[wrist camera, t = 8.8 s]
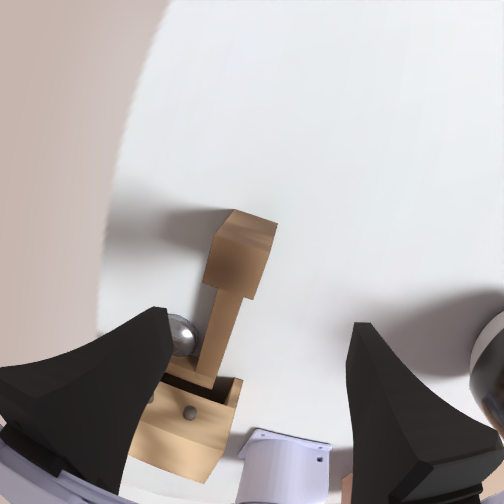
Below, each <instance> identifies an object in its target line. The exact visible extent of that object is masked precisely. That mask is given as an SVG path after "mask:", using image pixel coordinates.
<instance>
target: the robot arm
mask: <svg viewBox="0 0 504 504" xmlns="http://www.w3.org/2000/svg"><path fill="white" fill-rule="evenodd" d="M173 350H174V343H173V338H172V333H171V328H170V323H169V318H168V313H167V308H161V307H154V306H153V307H151V308H149V309H147V310H146V311H144V312H142V313H140V314H139V315H137V316H135V317H134V318H132V319H131V320H129V321H127V322H126V323H124V324H122V325H121V326H119V327H117V328H116V329H114V330H112V331H111V332H109V333H107V334H105V335H103V336H101V337H100V338H98V339H96V340H94V341H92V342H90V343H88V344H86V345H84V346H82V347H79V348H77V349H75V350H72V351H70V352H67V353H64V354H61V355H58V356H56V357H52V358H49V359H45V360H42V361H38V362H33V363H28V364H23V365H16V366H7V367H1V368H0V415H1V416H2V417H3V418H4V420H5V421H6V422H7V424H6V425H5V426H4V427H3V426H2V425H1V424H0V494H1V495H2V496H3V497H4V498H5V499H6V500H7V501H9V502H10V503H11V504H138V503H135V502H133V501H130V500H127V499H125V498H122V497H119V496H118V494H119V488H120V483H121V479H122V474H123V470H124V466H125V463H126V459H127V456H128V452H129V449H130V446H131V443H132V440H133V437H134V434H135V431H136V429H137V426H138V424H139V421H140V418H141V416H142V414H143V412H144V410H145V408H146V406H147V404H148V402H149V400H150V398H151V397H152V395H153V393H154V391H155V389H156V387H157V386H158V384H159V382H160V380H161V378H162V376H163V374H164V373H165V371H166V369H167V367H168V364H169V361H170V359H171V356H172V353H173ZM346 387H347V394H348V401H349V408H350V415H351V423H352V431H353V480H352V493H351V504H504V491H502V492H499V493H497V494H494V495H492V496H489V497H487V498H485V499H484V500H482V501H480V499H479V494H481V493H482V491H483V487H482V483H481V482H482V481H484V479H486V478H487V477H488V476H489V475H490V474H491V473H492V472H493V471H495V470H496V469H497V467H498V466H499V465H500V464H501V463H502V461H503V460H504V446H503V444H502V441H501V438H500V435H499V433H498V431H497V430H495V429H493V428H491V427H489V426H486V425H484V424H482V423H480V422H478V421H476V420H474V419H472V418H470V417H469V416H467V415H465V414H464V413H462V412H460V411H459V410H457V409H455V408H454V407H452V406H451V405H450V404H448V403H447V402H445V401H444V400H443V399H441V398H440V397H439V396H437V395H436V394H435V393H434V392H432V391H431V390H430V389H429V388H428V387H427V386H425V385H424V384H423V383H422V382H421V381H420V380H419V379H418V378H417V377H416V376H415V375H414V374H413V373H412V372H411V371H410V370H409V369H408V368H407V367H406V366H405V365H404V364H403V363H402V362H401V360H400V359H399V358H398V357H397V356H396V354H395V353H394V352H393V351H392V350H391V348H390V347H389V346H388V345H387V343H386V342H385V341H384V340H383V338H382V337H381V336H380V334H379V333H378V332H377V331H376V329H375V328H374V327H373V325H372V324H371V323H363V322H355V323H354V327H353V332H352V337H351V342H350V346H349V351H348V355H347V359H346ZM331 450H332V445H329V444H323V443H318V442H312V441H307V440H302V439H298V438H293V437H289V436H284V435H280V434H276V433H272V432H268V431H264V430H261V429H256V430H255V431H254V432H253V434H252V435H251V437H250V438H249V439H248V441H247V442H246V444H245V445H244V447H243V448H242V450H241V451H240V452H239V454H238V458H240V459H243V460H245V462H244V467H243V471H242V476H241V480H240V484H239V489H238V493H237V497H236V502H235V504H325V503H326V500H327V496H328V489H329V451H331ZM232 504H233V503H232Z"/></svg>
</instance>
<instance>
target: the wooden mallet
mask: <svg viewBox="0 0 504 504" xmlns="http://www.w3.org/2000/svg"><path fill="white" fill-rule="evenodd" d="M277 225H278V223H275V222H272V221H269V220H266V219H263V218H260V217H257V216H254V215H251V214H248V213H245V212H242V211H239V210H236V209H234V211H233V212H232V213H231V214H230V216H229V217H228V218H227V219H226V220H225V222H224V223H223V224H222V225H221V227H220V228H219V229H218V230H217V232H216V233H215V234H214V237H213V241H212V245H211V249H210V252H209V256H208V260H207V264H206V268H205V272H204V276H203V281H202V283H205V284H208V285H210V286H213V287H216V288H218V291H217V294H216V298H215V302H214V305H213V309H212V312H211V316H210V320H209V323H208V327H207V331H206V334H205V338H204V342H203V346H202V349H201V353H200V357H199V358H198V357H195V356H192V355H188V356H184V357H177V356H173V355H172V356H171V359H170V361H169V364H168V367H167V369H166V371H165V372H166V373H168V374H171V375H173V376H176V377H178V378H181V379H184V380H186V381H189V382H192V383H194V384H197V385H200V386H203V387H205V388H208V389H211V390H212V387H213V385H214V382H215V379H216V376H217V373H218V370H219V367H220V365H221V362H222V359H223V356H224V353H225V350H226V347H227V344H228V341H229V338H230V335H231V332H232V329H233V326H234V324H235V321H236V318H237V315H238V312H239V309H240V306H241V303H242V300H243V297H245V298H248V299H251V300H253V299H254V296H255V293H256V291H257V288H258V285H259V282H260V279H261V277H262V274H263V271H264V268H265V265H266V263H267V260H268V257H269V254H270V251H271V247H272V243H273V240H274V236H275V232H276V228H277Z"/></svg>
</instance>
